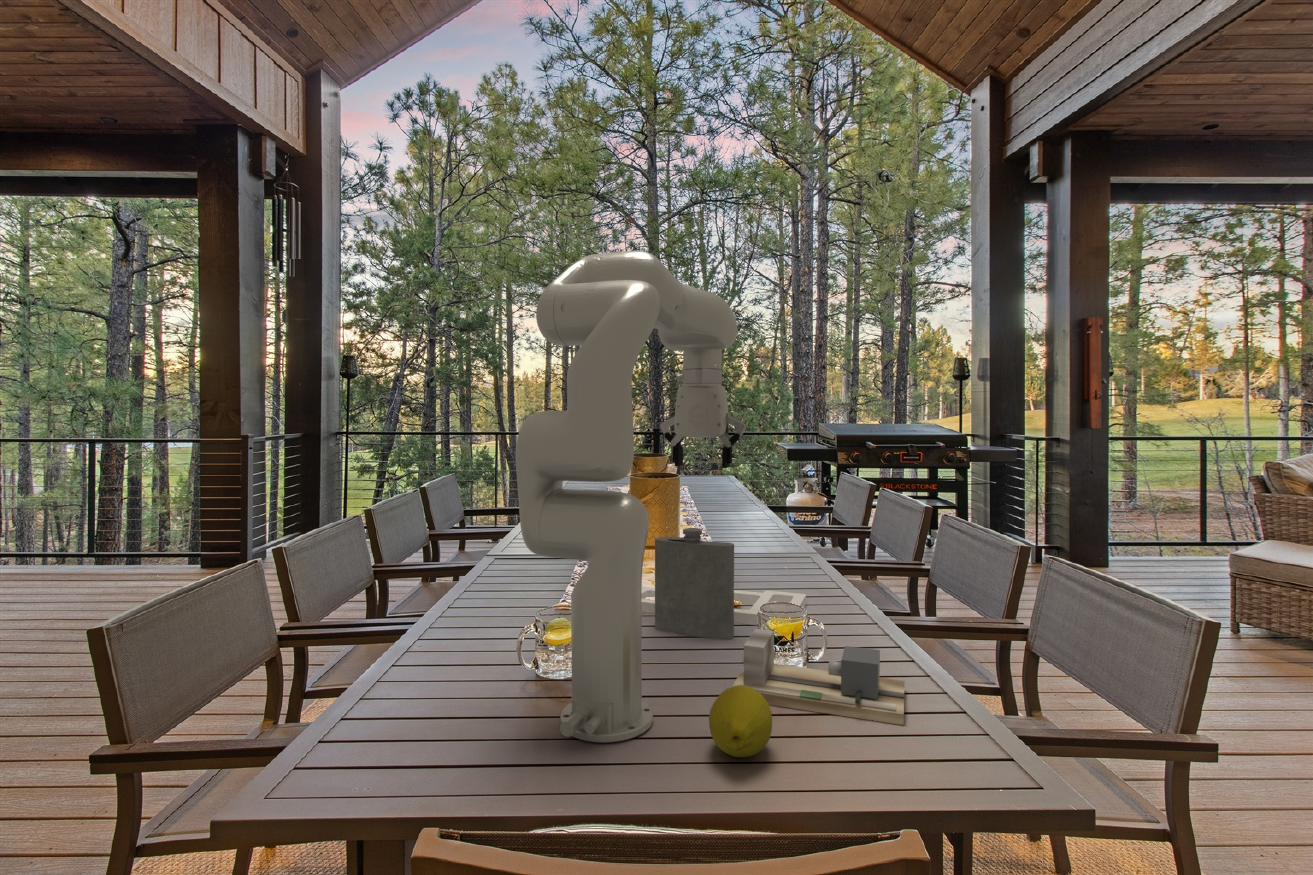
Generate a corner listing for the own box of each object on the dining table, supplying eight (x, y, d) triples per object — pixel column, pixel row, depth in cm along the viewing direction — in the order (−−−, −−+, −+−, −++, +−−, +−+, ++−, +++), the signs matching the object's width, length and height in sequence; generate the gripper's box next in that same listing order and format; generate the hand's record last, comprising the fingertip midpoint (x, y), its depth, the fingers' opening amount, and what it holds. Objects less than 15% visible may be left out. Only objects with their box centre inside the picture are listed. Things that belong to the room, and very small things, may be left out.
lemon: (722, 728, 91) (722, 669, 90) (780, 739, 88) (781, 679, 87) (695, 768, 81) (695, 702, 81) (759, 782, 78) (759, 714, 77)
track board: (903, 725, 92) (904, 670, 91) (730, 698, 100) (730, 648, 100) (904, 690, 103) (905, 641, 103) (748, 669, 111) (748, 624, 111)
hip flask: (736, 635, 128) (736, 529, 127) (729, 642, 124) (729, 533, 123) (659, 624, 134) (658, 523, 134) (650, 630, 131) (650, 527, 130)
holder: (583, 607, 147) (583, 595, 147) (617, 587, 164) (617, 576, 164) (792, 632, 131) (792, 618, 131) (806, 606, 148) (806, 594, 148)
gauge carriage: (876, 708, 93) (877, 672, 92) (823, 701, 95) (824, 666, 95) (879, 682, 101) (879, 650, 101) (831, 676, 104) (831, 644, 103)
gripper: (654, 379, 132) (654, 466, 133) (741, 378, 126) (740, 469, 127) (667, 380, 139) (667, 463, 140) (750, 379, 133) (749, 466, 134)
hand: (702, 466), depth 134 cm, fingers open, 9 cm apart
